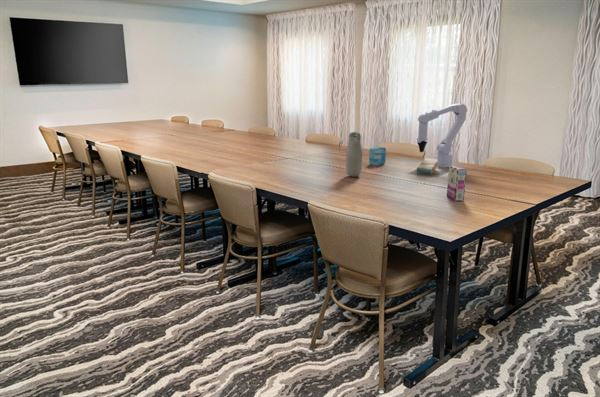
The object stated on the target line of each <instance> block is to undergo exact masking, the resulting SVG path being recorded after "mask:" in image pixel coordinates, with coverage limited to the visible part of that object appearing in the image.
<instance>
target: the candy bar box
mask: <svg viewBox="0 0 600 397" xmlns="http://www.w3.org/2000/svg"><path fill="white" fill-rule="evenodd" d="M466 181H467V169H466V168H464V167H462V166H459V165H452V166H449V167H448V176H447V188H446V190H447V191H446V198H447V197H448V199H451V200H452V201H454V202H464V200H465V193H466V192H465V190H466Z"/></svg>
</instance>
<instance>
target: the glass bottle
mask: <svg viewBox="0 0 600 397" xmlns="http://www.w3.org/2000/svg"><path fill="white" fill-rule="evenodd" d="M361 139H362V135H361V133H360V132H358V131H353V132H350V133H349V135H348V142H347V147H346V152H345V172H346V174H347V176H348V177H352V178H355V177H356V178H357V177H359V176H360V175H361V173H362V169H363V154H364V152H363V147H362V142H361Z"/></svg>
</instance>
